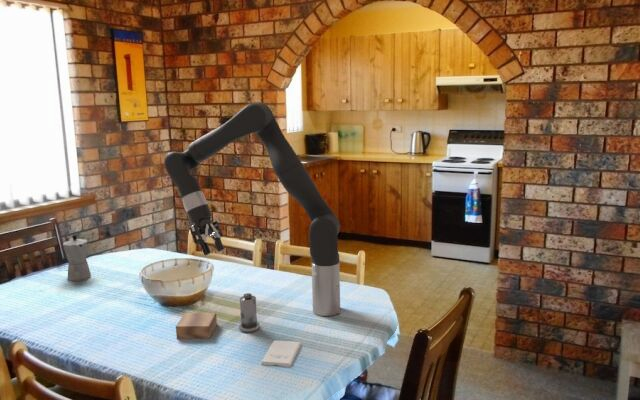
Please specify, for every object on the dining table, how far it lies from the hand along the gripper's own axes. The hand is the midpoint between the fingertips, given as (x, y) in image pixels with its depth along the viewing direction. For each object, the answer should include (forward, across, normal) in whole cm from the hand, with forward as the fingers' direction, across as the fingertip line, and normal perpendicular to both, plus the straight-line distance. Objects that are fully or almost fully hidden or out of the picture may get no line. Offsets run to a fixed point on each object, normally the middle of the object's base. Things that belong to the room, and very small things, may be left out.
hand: (214, 252), depth 175 cm
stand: (+21, -12, +9) cm, 26 cm away
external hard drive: (+36, -18, -19) cm, 44 cm away
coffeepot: (-15, +18, +75) cm, 78 cm away
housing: (+27, -5, -5) cm, 28 cm away
